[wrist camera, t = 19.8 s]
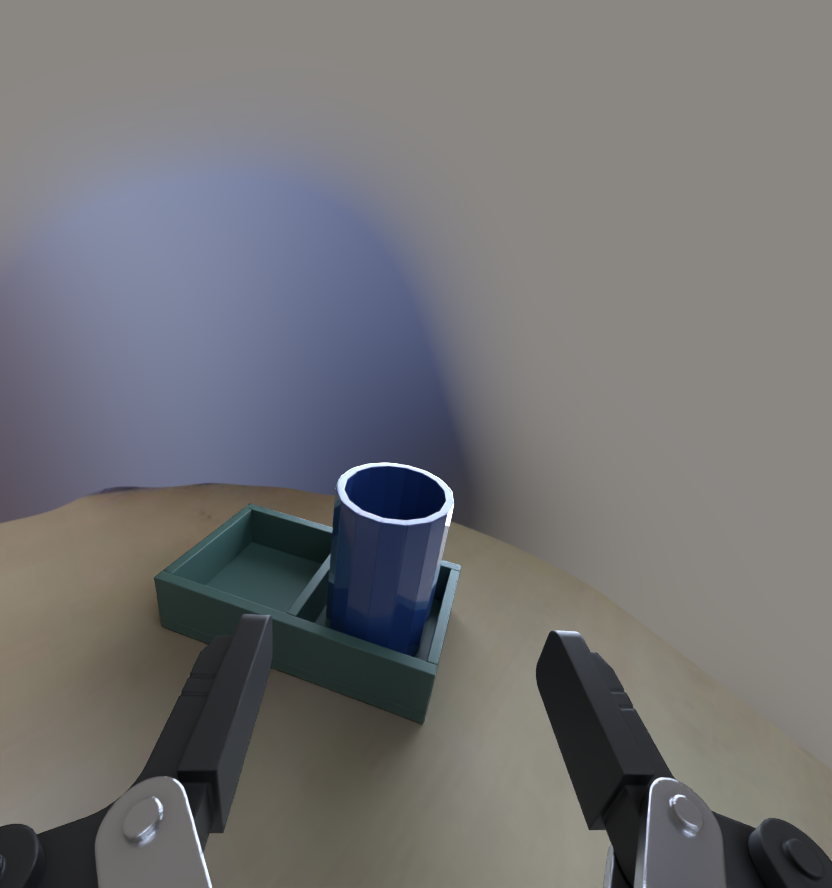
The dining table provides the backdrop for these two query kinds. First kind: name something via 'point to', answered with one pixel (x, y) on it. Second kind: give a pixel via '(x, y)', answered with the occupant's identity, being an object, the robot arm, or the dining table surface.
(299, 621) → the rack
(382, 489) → the cup
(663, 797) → the robot arm
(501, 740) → the dining table surface
